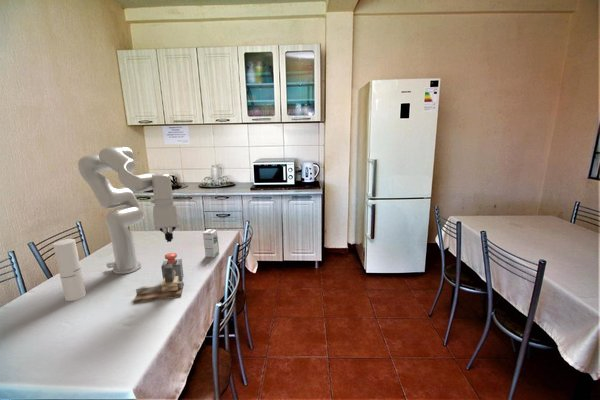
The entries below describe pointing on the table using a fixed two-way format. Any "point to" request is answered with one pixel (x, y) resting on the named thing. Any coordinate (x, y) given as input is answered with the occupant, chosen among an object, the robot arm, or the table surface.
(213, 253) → the syrup box
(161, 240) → the table surface
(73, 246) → the cylindrical container
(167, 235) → the robot arm
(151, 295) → the slide rail
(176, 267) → the gauge cabinet
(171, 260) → the button
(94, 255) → the table surface
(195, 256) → the table surface
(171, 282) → the carriage
